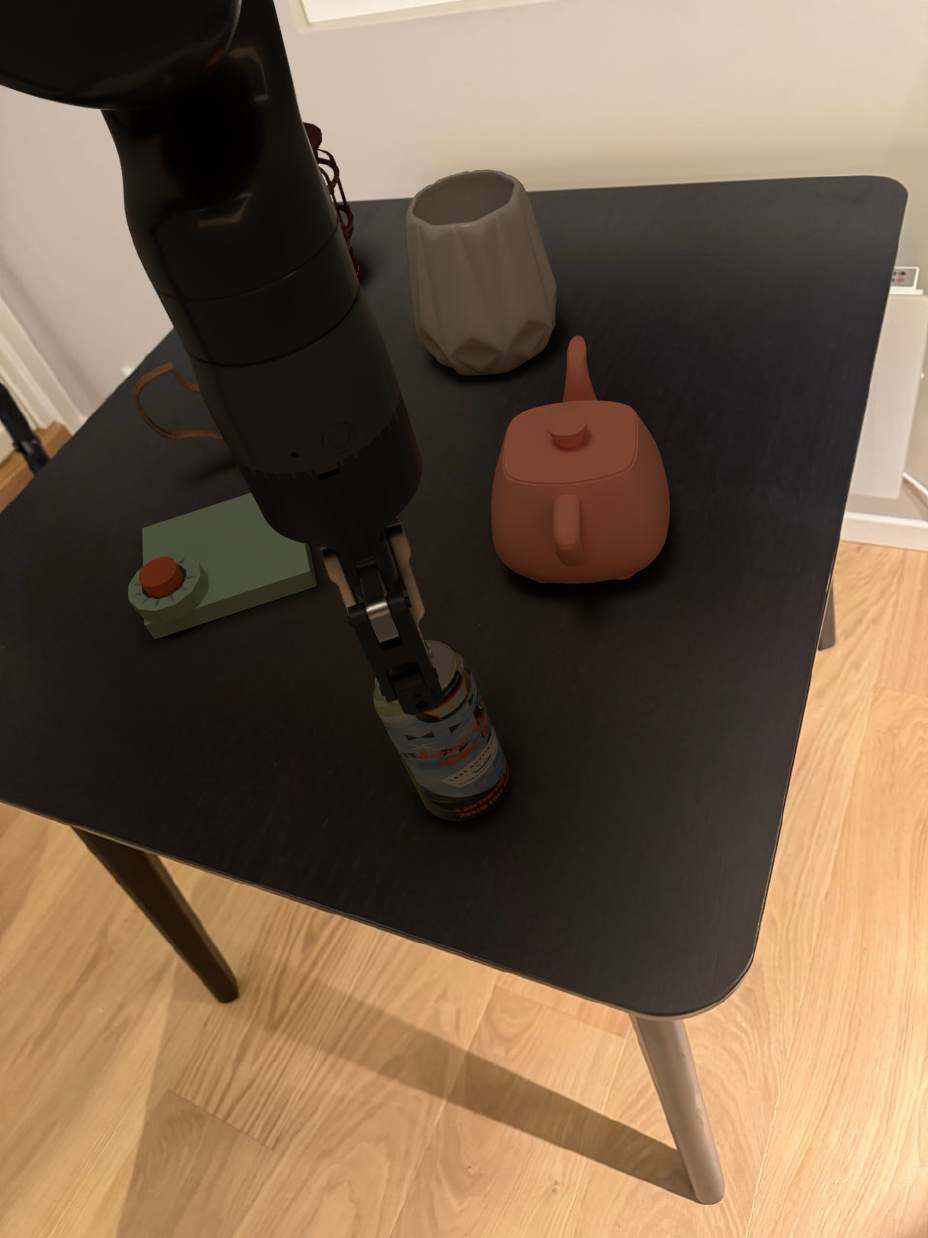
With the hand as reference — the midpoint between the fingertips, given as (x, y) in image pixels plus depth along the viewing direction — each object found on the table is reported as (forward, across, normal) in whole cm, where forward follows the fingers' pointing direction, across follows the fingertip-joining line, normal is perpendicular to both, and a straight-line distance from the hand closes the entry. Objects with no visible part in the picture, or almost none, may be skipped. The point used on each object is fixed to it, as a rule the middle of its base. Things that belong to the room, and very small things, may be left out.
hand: (407, 644), depth 51 cm
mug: (+15, -42, -9) cm, 46 cm away
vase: (+15, -47, +15) cm, 52 cm away
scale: (+15, -28, -14) cm, 35 cm away
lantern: (+15, -69, 0) cm, 71 cm away
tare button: (+12, -24, -19) cm, 33 cm away
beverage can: (+15, 0, 0) cm, 15 cm away
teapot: (+15, -18, +15) cm, 28 cm away
